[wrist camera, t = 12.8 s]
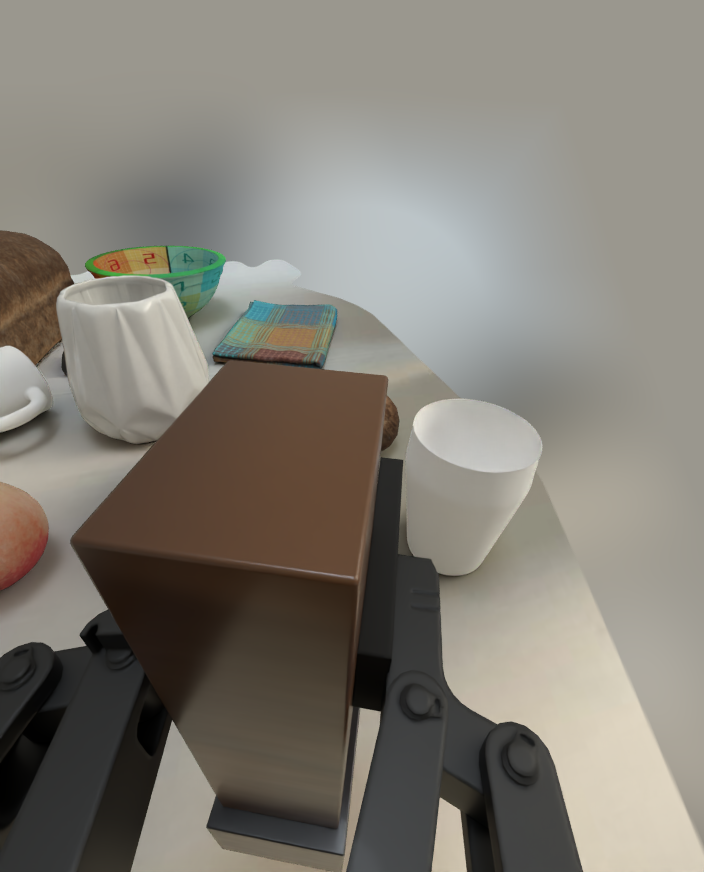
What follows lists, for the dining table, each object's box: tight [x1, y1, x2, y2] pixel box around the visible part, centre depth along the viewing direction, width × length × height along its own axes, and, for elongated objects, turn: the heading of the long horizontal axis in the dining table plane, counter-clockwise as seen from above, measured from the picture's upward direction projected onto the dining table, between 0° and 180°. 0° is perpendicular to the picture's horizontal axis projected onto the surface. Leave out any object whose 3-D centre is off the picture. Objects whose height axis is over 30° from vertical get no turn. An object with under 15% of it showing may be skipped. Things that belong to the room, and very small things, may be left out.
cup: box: [405, 399, 542, 576], centre depth 31 cm, size 9×9×12 cm
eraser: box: [70, 360, 388, 872], centre depth 11 cm, size 4×6×15 cm, turn 172°
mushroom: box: [381, 396, 399, 451], centre depth 45 cm, size 8×8×6 cm
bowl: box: [85, 246, 226, 318], centre depth 72 cm, size 22×22×10 cm
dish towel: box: [213, 300, 337, 369], centre depth 69 cm, size 17×23×2 cm
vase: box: [56, 276, 209, 444], centre depth 44 cm, size 14×14×15 cm
